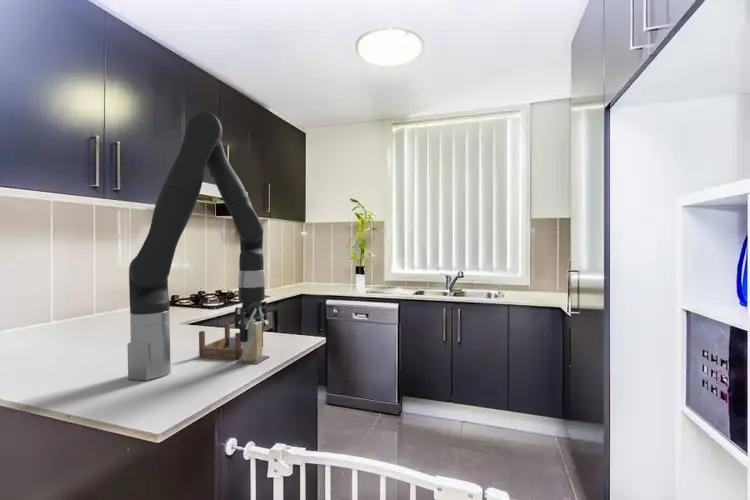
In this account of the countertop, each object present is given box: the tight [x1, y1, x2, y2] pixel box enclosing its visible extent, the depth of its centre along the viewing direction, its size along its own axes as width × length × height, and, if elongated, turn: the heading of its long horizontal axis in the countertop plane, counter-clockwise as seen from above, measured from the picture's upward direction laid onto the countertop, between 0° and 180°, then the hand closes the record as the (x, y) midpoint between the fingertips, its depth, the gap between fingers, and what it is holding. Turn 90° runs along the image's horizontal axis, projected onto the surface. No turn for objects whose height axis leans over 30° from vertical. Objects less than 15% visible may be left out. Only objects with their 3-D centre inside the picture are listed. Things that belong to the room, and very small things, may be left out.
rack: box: [198, 322, 264, 361], centre depth 124 cm, size 14×14×8 cm
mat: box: [235, 355, 270, 365], centre depth 115 cm, size 7×7×1 cm
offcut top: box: [228, 335, 243, 348], centre depth 123 cm, size 6×4×3 cm, turn 164°
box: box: [243, 320, 263, 361], centre depth 115 cm, size 5×4×11 cm
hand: (252, 338), depth 115 cm, fingers open, 8 cm apart
